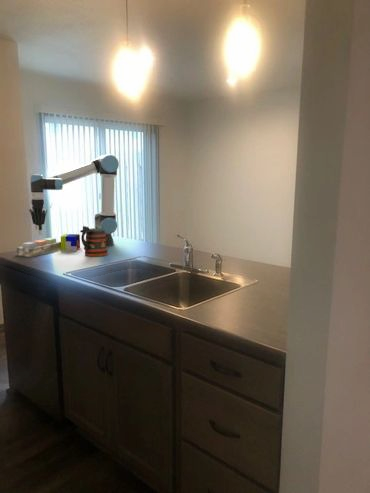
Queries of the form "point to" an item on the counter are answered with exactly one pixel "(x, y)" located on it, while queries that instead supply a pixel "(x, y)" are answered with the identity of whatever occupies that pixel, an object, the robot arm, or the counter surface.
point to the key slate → (29, 245)
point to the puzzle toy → (70, 242)
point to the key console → (38, 249)
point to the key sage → (50, 240)
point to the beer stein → (94, 242)
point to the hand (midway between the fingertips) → (39, 234)
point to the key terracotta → (40, 242)
